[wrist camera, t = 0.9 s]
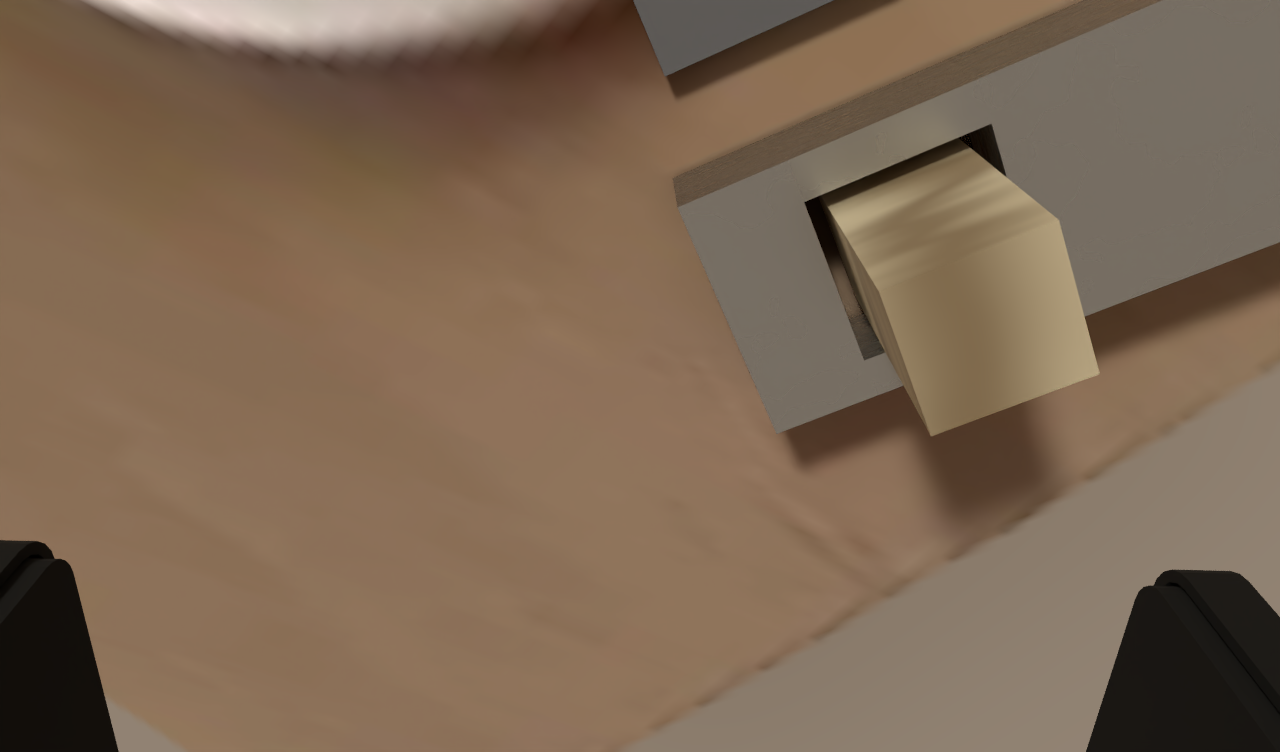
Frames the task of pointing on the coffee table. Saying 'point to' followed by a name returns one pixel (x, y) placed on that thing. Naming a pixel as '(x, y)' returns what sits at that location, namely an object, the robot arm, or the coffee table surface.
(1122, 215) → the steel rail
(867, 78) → the coffee table surface
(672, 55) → the charcoal mat
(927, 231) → the birch peg
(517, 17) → the coffee table surface
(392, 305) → the coffee table surface
